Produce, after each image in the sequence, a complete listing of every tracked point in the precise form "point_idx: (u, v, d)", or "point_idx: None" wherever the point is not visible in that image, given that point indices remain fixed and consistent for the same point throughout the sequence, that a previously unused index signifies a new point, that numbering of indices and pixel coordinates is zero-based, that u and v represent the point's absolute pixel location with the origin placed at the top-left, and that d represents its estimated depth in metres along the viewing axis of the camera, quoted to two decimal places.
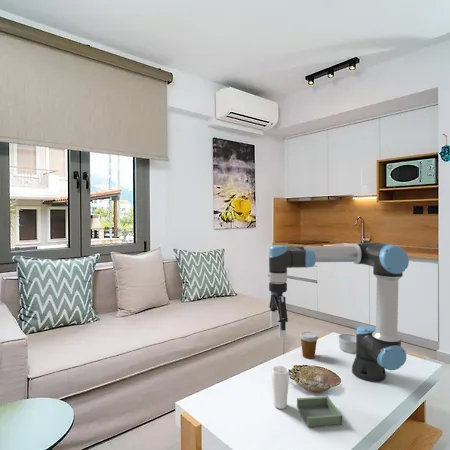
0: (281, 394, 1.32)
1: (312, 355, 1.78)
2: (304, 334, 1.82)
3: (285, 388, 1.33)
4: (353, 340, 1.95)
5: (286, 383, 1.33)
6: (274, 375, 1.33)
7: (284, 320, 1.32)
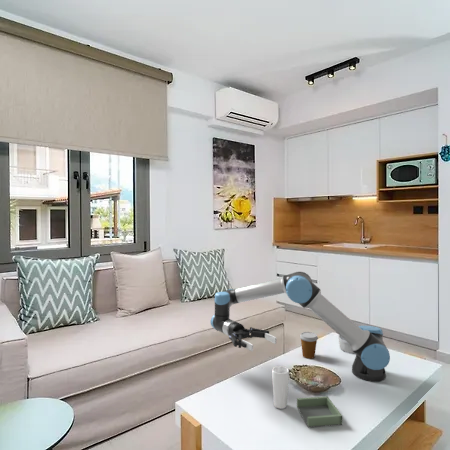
0: (281, 394, 1.32)
1: (312, 355, 1.78)
2: (304, 334, 1.82)
3: (285, 388, 1.33)
4: None
5: (286, 383, 1.33)
6: (274, 375, 1.33)
7: (234, 343, 1.43)
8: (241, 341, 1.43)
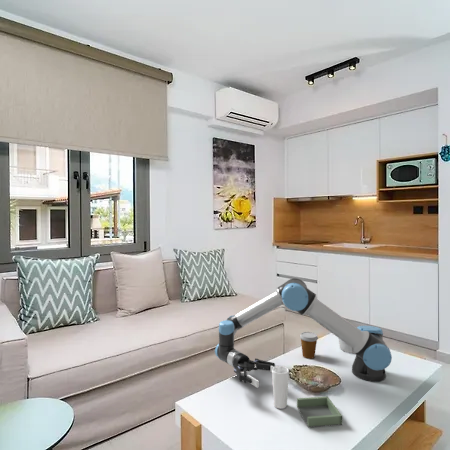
0: (281, 394, 1.32)
1: (312, 355, 1.78)
2: (304, 334, 1.82)
3: (285, 388, 1.33)
4: None
5: (286, 383, 1.33)
6: (274, 375, 1.33)
7: (239, 378, 1.40)
8: (246, 376, 1.40)
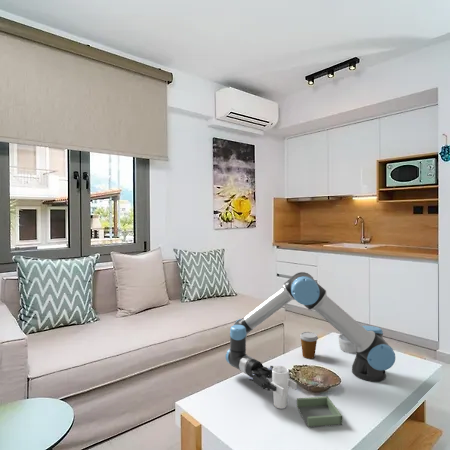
0: None
1: (312, 355, 1.78)
2: (304, 334, 1.82)
3: (285, 388, 1.33)
4: None
5: (286, 383, 1.33)
6: (274, 375, 1.33)
7: (263, 386, 1.34)
8: None
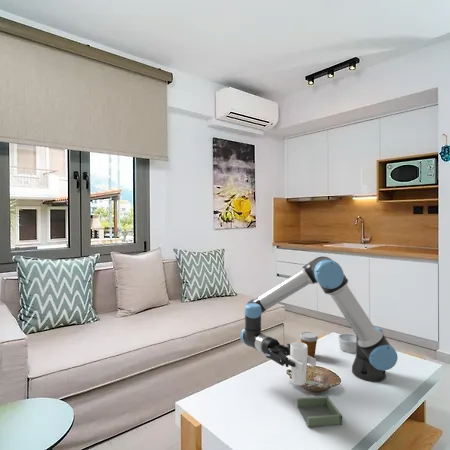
0: None
1: (312, 355, 1.78)
2: (304, 334, 1.82)
3: (304, 364, 1.28)
4: (353, 340, 1.95)
5: (305, 359, 1.28)
6: (292, 351, 1.29)
7: (281, 362, 1.29)
8: (288, 359, 1.30)
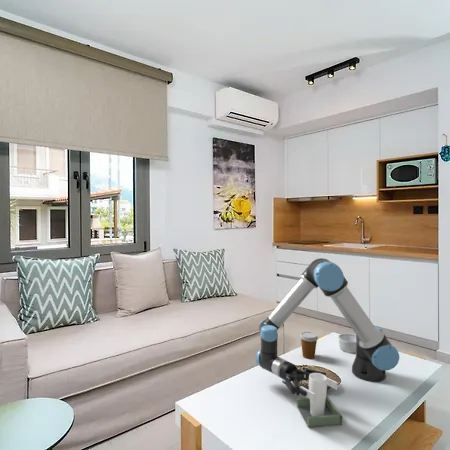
0: (319, 403, 1.26)
1: (312, 355, 1.78)
2: (304, 334, 1.82)
3: (323, 396, 1.26)
4: (353, 340, 1.95)
5: (324, 391, 1.26)
6: (312, 382, 1.26)
7: (292, 391, 1.27)
8: (299, 388, 1.27)
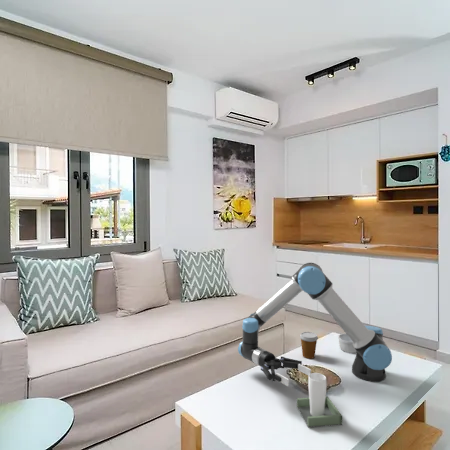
0: (319, 403, 1.26)
1: (312, 355, 1.78)
2: (304, 334, 1.82)
3: (323, 396, 1.26)
4: None
5: (324, 391, 1.26)
6: (311, 383, 1.26)
7: (268, 377, 1.37)
8: (275, 374, 1.37)
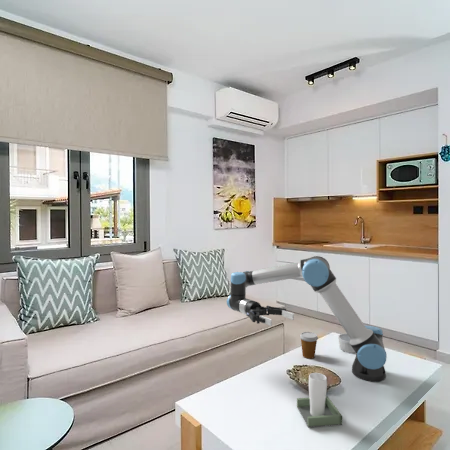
0: (319, 403, 1.26)
1: (312, 355, 1.78)
2: (304, 334, 1.82)
3: (323, 396, 1.26)
4: None
5: (324, 391, 1.26)
6: (311, 382, 1.26)
7: (253, 319, 1.45)
8: None
